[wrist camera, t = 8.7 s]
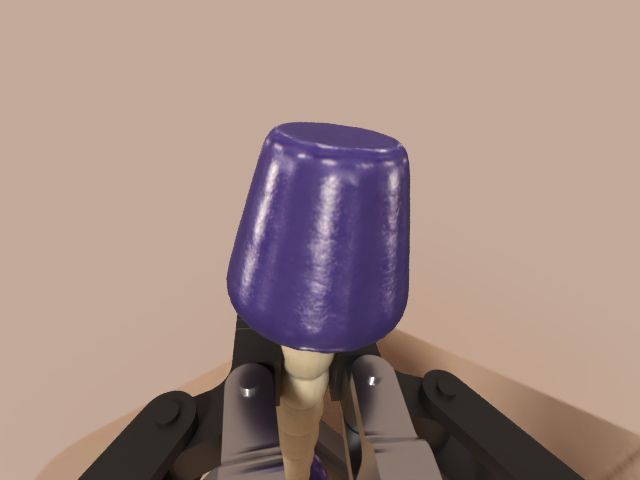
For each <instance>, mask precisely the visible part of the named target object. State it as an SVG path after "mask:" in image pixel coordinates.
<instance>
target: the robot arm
mask: <svg viewBox="0 0 640 480" xmlns="http://www.w3.org/2000/svg"><path fill="white" fill-rule="evenodd" d="M281 362H282V359H281V345H279V344H277V343H275V342H273V341H271V340H269V339H267V338H265V337H263V336H262V335H260V334H259V333H258V332H256V331H254V330H252V329H251V328H250V327H249V326H248V325H247V324H246V323H245V322H244V320H243V319H242V318H241V317H240V316H239V315H238V314H237V323H236V332H235V341H234V351H233V360H232V367H231V371H230V373H229V375H228V376H227V378H226V379H225V380H224V381H223V382H222V383H221V384H220V385H218V386H217V387H215V388H214V389H212V390H210V391H207V392H205V393H202V394H199V395H197V396H194V397H192V396H191V395H189V394H188V393H186V392H183V391H170V392H167V393H164V394H161V395H159V396H158V397H156V398H155V399H153V400H152V401H151V402H150V403H148V404H147V405H146V407H145V408H144V409H143V410H142V411H141V412H140V413H139V414H138V415H137V416H136V417H135V418H134V419H133V421H132V422H131V423H130V424H129V425H128V426H127V427H126V428H125V429H124V430H123V431H122V432H121V433H120V435H119V436H118V437H117V438H116V439H115V440H114V441H113V442H112V443H111V444H110V445H109V446H108V447H107V449H106V450H105V451H104V452H103V453H102V454H101V455H100V456H99V457H98V458H97V459H96V460H95V461H94V463H93V464H92V465H91V466H90V467H89V468H88V469H87V470H86V471H85V472H84V473H83V474H82V475H81V477H80V478H79V479H78V480H200V479H201V477H202V475H203V474H205V473H207V472H209V471H211V470H213V469H215V468H217V467H219V470H218V480H285V471H284V462H283V455H282V452H281V449H280V441H279V431H278V421H277V411H276V407H277V406H280V389H281ZM328 384H329V389H330V394H331V399H332V401H339V400H340V401H341V406H342V416H341V425H342V432H343V439H344V446H345V453H346V460H347V467H348V474H349V480H584V479H583V478H582V477H581V476H579V475H578V474H577V473H576V472H574V471H573V470H572V469H571V468H569V467H568V466H567V465H566V464H564V463H563V462H562V461H561V460H559V459H558V458H557V457H556V456H554V455H553V454H552V453H551V452H550V451H548V450H547V449H546V448H545V447H543V446H542V445H541V444H540V443H538V442H537V441H536V440H535V439H533V438H532V437H531V436H530V435H528V434H527V433H526V432H525V431H523V430H522V429H521V428H520V427H518V426H517V425H516V424H515V423H513V422H512V421H511V420H510V419H508V418H507V417H506V416H505V415H503V414H502V413H501V412H500V411H498V410H497V409H496V408H495V407H493V406H492V405H491V404H490V403H488V402H487V401H486V400H485V399H483V398H482V397H481V396H480V395H478V394H477V393H476V392H475V391H473V390H472V389H471V388H470V387H468V386H467V385H466V384H465V383H463V382H462V381H461V380H460V379H458V378H457V377H456V376H454V375H453V374H451V373H449V372H447V371H443V370H431V371H429V372H427V373H426V374H425V376H424V378H420V377H416V376H411V375H407V374H403V373H400V372H398V371H396V370H394V369H393V368H392V366H391V365H390V364H389V363H388V362H387V361H386V360H384V359H383V358H382V357H381V355H380V353H379V351H378V348H377V345H376V343H373V344H370V345H367V346H364V347H362V348H360V349H358V350H353V351H347V352H339V353H335V355H334V358H333V361H332V363H331V365H330V366H329V383H328Z"/></svg>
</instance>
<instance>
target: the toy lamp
mask: <svg viewBox="0 0 640 480" xmlns="http://www.w3.org/2000/svg"><path fill="white" fill-rule="evenodd" d="M409 236H410V169H409V160H408V155H407V152H406V150H405V148H404V147H403V145H402V144H401V143H400V142H399V141H397V140H396V139H394V138H392V137H389V136H387V135H384V134H381V133H378V132H375V131H371V130H366V129H362V128H357V127H349V126H342V125H336V124H329V123H312V122H310V123H309V122H294V123H285V124H281V125H278V126H276V127H274V129H272V131H270V133H269V134H268V136H267V137H266V139H265V141H264V143H263V146H262V149H261V153H260V156H259V159H258V162H257V166H256V169H255V173H254V176H253V179H252V183H251V186H250V189H249V193H248V197H247V200H246V204H245V208H244V211H243V215H242V218H241V221H240V225H239V228H238V232H237V236H236V239H235V243H234V247H233V251H232V254H231V258H230V262H229V267H228V273H227V289H228V294H229V297H230V300H231V303H232V305H233V307H234V309H235V310H236V312H237V314H238V315H239V316H240V317H241V318H242V319H243V320H244V322H245V323H246V324H247V325H248V326H249V327H250V328H251V329H252V330H254V331H256V332H258V333H259V334H260V335H262V336H263V337H265V338H267V339H269V340H271V341H273V342H275V343H277V344H279V345H281V359H282V362H281V389H280V406H277V407H276V411H277V421H278V431H279V441H280V449H281V452H282V455H283V462H284V471H285V480H329V477H328V474H327V471H326V469H325V467H324V465H323V463H322V461H321V460H320V459H319V457H318V456H317V455H316V454H315V453H314V447H315V445H316V442H317V439H318V435H319V422H320V420H321V417H322V414H323V409H324V399H323V396H324V395H325V393H326V391H327V388H328V383H329V366H330V365H331V363H332V361H333V358H334V355H335V353H339V352H347V351H353V350H358V349H360V348H362V347H364V346H367V345H370V344H373V343H376V342H377V341H378V340H380V339H382V338H384V337H385V336H386V335H387V334H388V333H389V332H391V331H392V330H393V329H394V328H395V327H396V325H397V324H398V322H399V321H400V319H401V318H402V316H403V313H404V310H405V308H406V305H407V299H408V291H409V252H410V249H409V248H410V246H409V245H410V240H409V239H410V237H409Z"/></svg>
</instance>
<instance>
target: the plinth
mask: <svg viewBox="0 0 640 480" xmlns="http://www.w3.org/2000/svg"><path fill="white" fill-rule="evenodd" d="M314 453H315V454H316V455H317V456H318V457H319V459H320V460H321V461H322V463H323V465H324V467H325V469H326V471H327V474H328V477H329V480H349V474H348V467H347V460H346V453H345V446H344V439H343V437H342V436H341V435H339V434H338V433H337V432H336V431H334V430H333V429H332V428H331V427H329V426H328V425H327V424H326V423H324V422H323V421H322V420H320V422H319V435H318V439H317V442H316V445H315V447H314ZM218 470H219V467H217V468H215V469H213V470H211V472H210V473H209V474H208V475H207V476H206V477H205V478H204V479H203V480H218Z"/></svg>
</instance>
